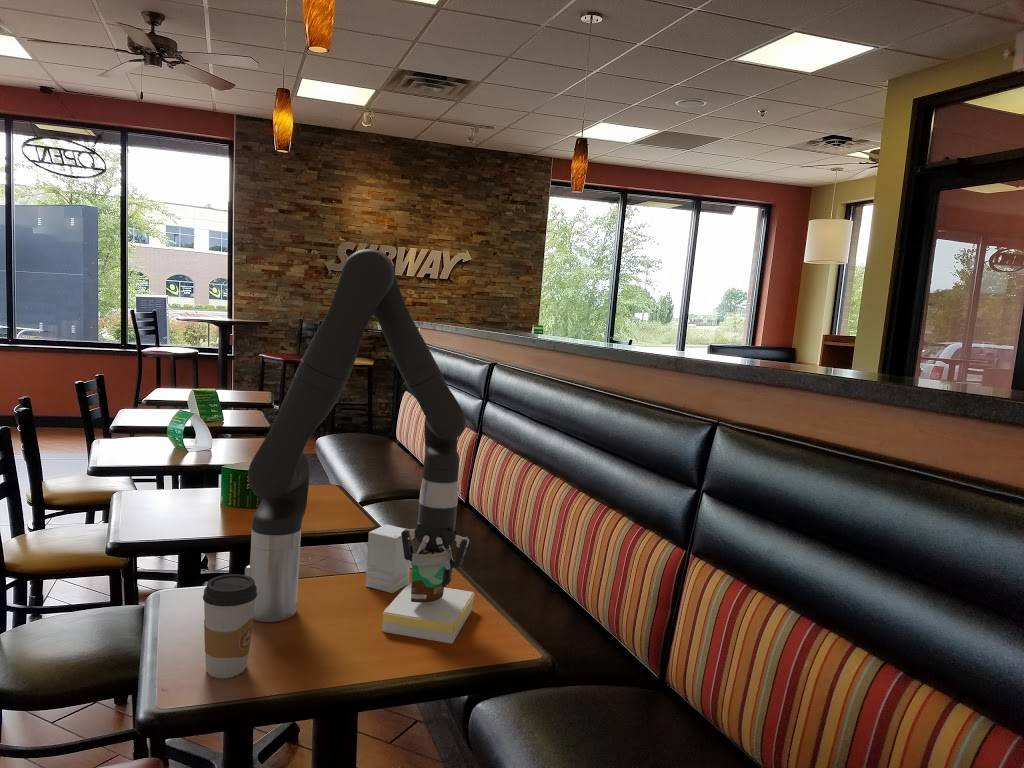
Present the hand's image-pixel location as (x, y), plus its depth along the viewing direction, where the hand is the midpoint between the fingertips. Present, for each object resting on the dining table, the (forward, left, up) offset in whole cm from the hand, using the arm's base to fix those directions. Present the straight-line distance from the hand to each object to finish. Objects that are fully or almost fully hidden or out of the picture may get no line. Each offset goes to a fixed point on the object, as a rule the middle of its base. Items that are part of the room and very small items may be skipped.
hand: (431, 583), depth 141 cm
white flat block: (0, 0, -8) cm, 8 cm away
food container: (+1, 0, -3) cm, 3 cm away
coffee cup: (-26, -30, -8) cm, 40 cm away
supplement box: (-14, +14, -8) cm, 21 cm away
